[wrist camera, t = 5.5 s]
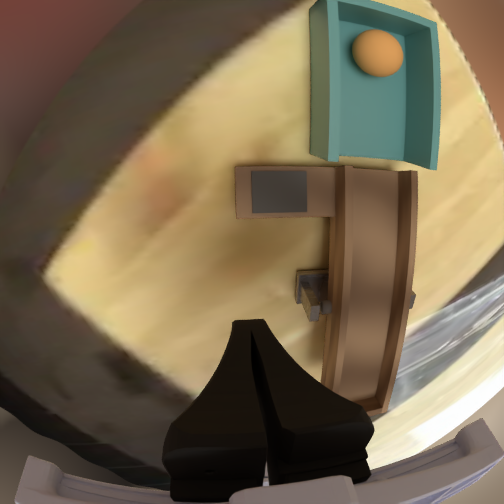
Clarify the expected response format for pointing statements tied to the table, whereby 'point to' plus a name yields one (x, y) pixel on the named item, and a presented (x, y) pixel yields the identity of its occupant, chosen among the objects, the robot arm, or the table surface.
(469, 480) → the robot arm
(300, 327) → the table surface
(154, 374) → the table surface
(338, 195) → the lever
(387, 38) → the ball
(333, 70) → the teal open-ended tray
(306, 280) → the fulcrum
